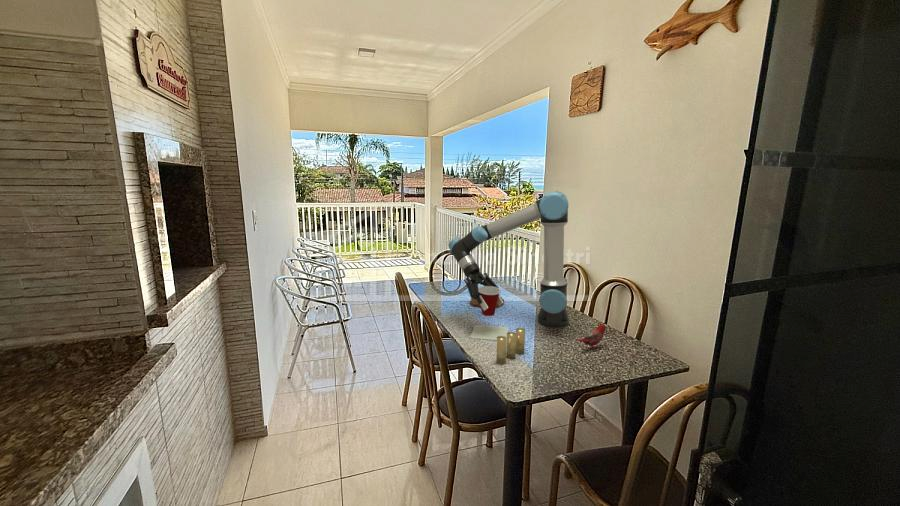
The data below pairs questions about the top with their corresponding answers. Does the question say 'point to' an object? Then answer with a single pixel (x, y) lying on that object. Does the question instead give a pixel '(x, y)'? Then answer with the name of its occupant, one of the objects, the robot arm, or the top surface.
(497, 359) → the spacer posts
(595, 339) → the decorative bird figurine
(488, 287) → the plastic cup
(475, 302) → the plant
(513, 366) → the top surface
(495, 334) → the mat
